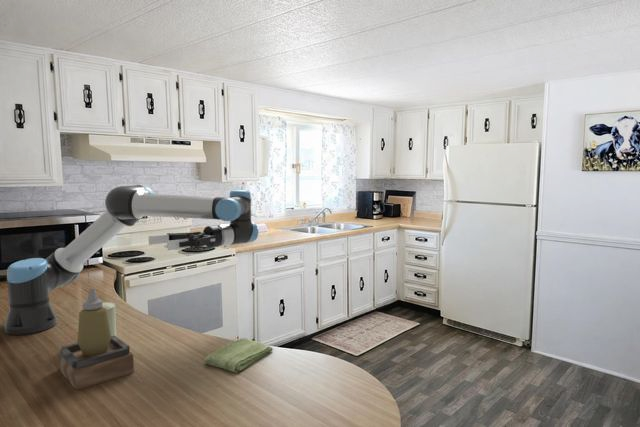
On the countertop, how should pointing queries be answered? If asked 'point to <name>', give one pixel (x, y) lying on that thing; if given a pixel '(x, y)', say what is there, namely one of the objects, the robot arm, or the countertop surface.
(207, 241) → the robot arm
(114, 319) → the can
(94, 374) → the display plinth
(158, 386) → the countertop surface
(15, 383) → the countertop surface
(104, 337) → the squeeze bottle
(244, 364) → the washcloth
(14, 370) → the countertop surface
